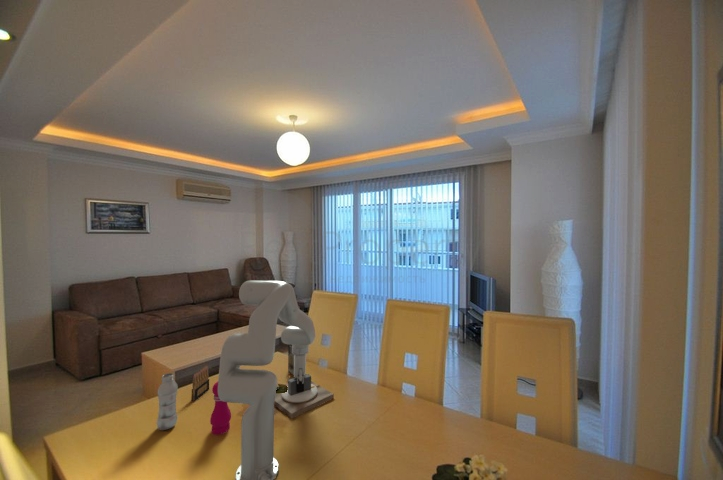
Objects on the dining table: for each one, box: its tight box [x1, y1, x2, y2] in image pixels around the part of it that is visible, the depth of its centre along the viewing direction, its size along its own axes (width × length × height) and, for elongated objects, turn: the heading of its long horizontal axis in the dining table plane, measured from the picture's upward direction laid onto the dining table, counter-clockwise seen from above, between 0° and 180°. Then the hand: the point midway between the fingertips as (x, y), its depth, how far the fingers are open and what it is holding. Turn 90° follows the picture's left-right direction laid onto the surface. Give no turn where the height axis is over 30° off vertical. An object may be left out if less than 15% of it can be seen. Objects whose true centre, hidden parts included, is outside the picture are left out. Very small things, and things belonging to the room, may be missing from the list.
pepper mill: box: [209, 381, 232, 436], centre depth 113 cm, size 7×7×20 cm
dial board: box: [274, 380, 334, 419], centre depth 135 cm, size 22×22×2 cm
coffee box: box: [287, 344, 294, 376], centre depth 162 cm, size 9×6×16 cm
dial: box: [282, 373, 317, 403], centre depth 135 cm, size 16×16×7 cm
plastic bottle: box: [156, 372, 179, 431], centre depth 114 cm, size 6×7×20 cm
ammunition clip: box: [190, 365, 210, 402], centre depth 138 cm, size 11×2×12 cm, turn 175°
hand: (300, 388), depth 136 cm, fingers closed on dial, 4 cm apart
